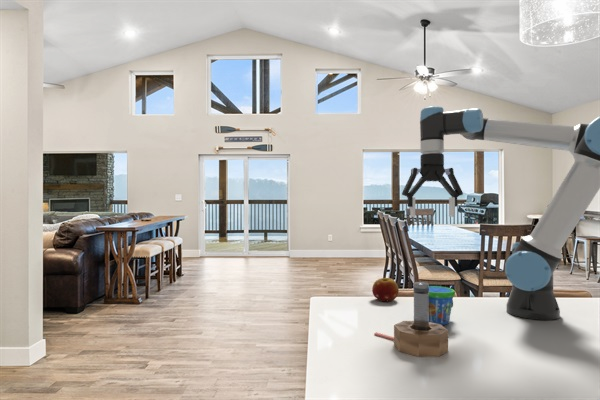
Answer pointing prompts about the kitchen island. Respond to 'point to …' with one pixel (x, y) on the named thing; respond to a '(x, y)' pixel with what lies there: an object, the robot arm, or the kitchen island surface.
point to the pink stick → (384, 336)
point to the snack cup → (440, 304)
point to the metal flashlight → (421, 306)
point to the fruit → (385, 289)
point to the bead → (421, 339)
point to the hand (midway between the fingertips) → (432, 216)
